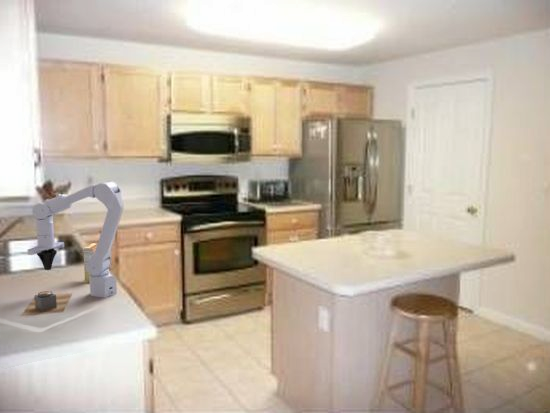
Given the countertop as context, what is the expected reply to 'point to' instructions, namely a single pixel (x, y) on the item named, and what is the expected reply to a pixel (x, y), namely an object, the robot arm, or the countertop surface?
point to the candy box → (88, 258)
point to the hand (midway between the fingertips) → (47, 269)
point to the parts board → (61, 304)
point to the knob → (45, 301)
